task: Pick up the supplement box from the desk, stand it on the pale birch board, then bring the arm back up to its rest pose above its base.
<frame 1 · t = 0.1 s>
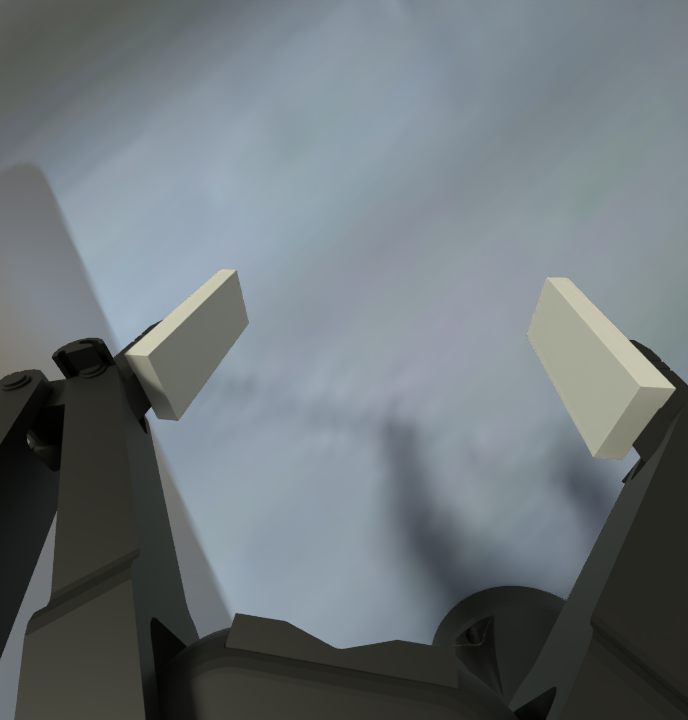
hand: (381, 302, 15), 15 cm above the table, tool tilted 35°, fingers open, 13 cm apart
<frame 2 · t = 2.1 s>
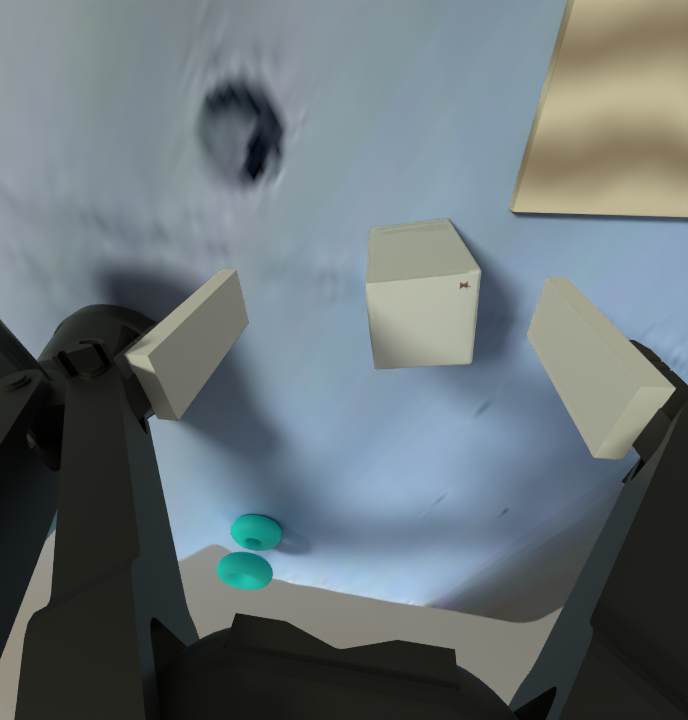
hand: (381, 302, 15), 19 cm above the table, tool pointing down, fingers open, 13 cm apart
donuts: (258, 524, 67), on the table
supplement box: (409, 259, 33), on the table
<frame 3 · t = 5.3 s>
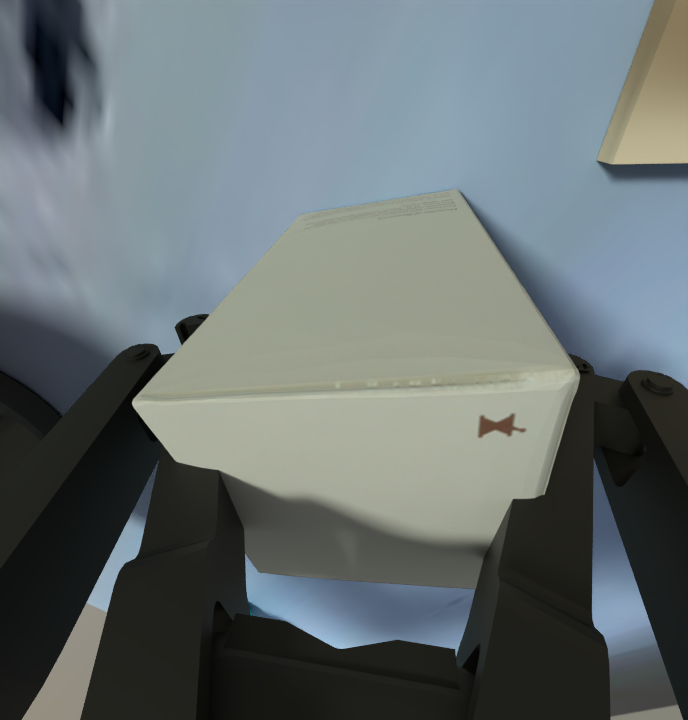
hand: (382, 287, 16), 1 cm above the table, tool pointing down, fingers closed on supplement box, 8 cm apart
supplement box: (383, 275, 17), on the table, touching gripper
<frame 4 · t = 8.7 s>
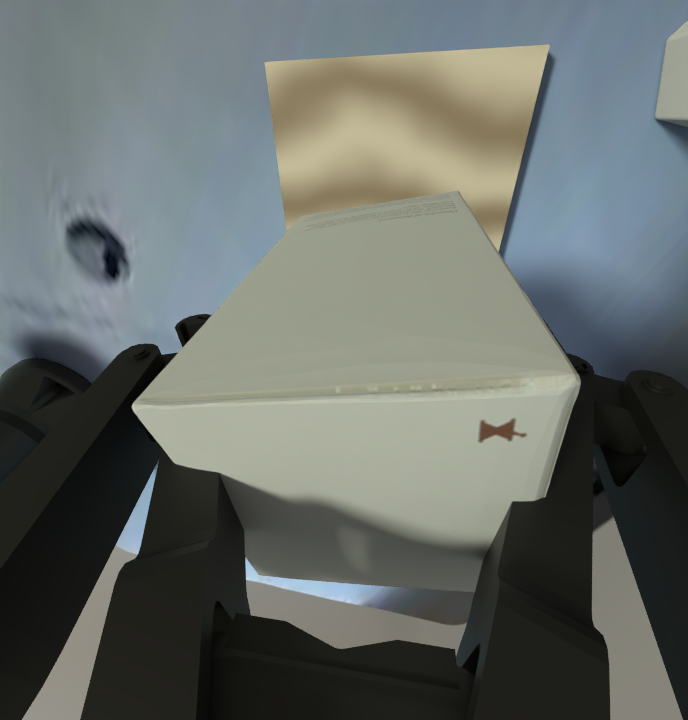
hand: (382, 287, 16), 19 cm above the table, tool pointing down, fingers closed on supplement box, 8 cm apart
birch board: (392, 202, 31), on the table
supplement box: (383, 277, 17), point 17 cm above the table, touching gripper
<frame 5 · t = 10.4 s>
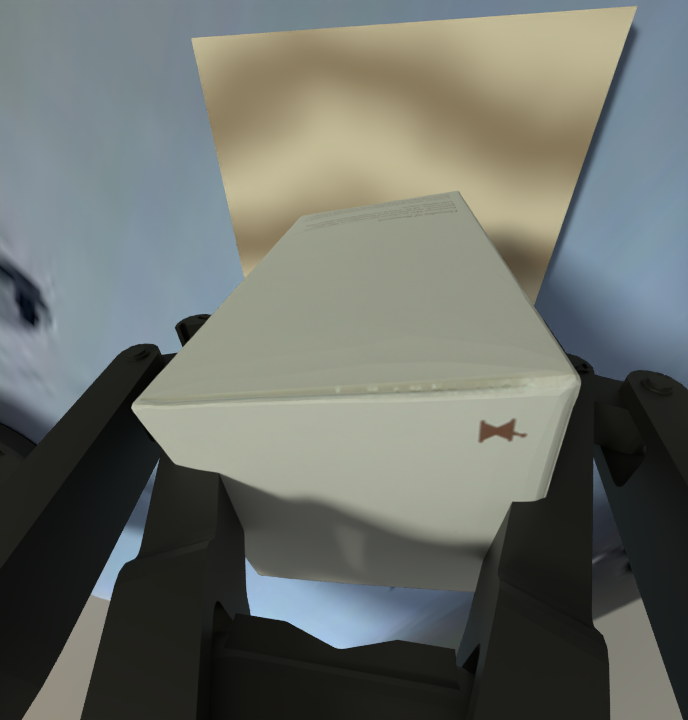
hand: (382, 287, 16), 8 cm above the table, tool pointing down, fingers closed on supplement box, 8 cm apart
birch board: (386, 238, 22), on the table
supplement box: (383, 277, 17), point 6 cm above the table, touching gripper
when the fingers open (4 cm above the table, at t = 12.1 s): supplement box drops 1 cm, resting on birch board.
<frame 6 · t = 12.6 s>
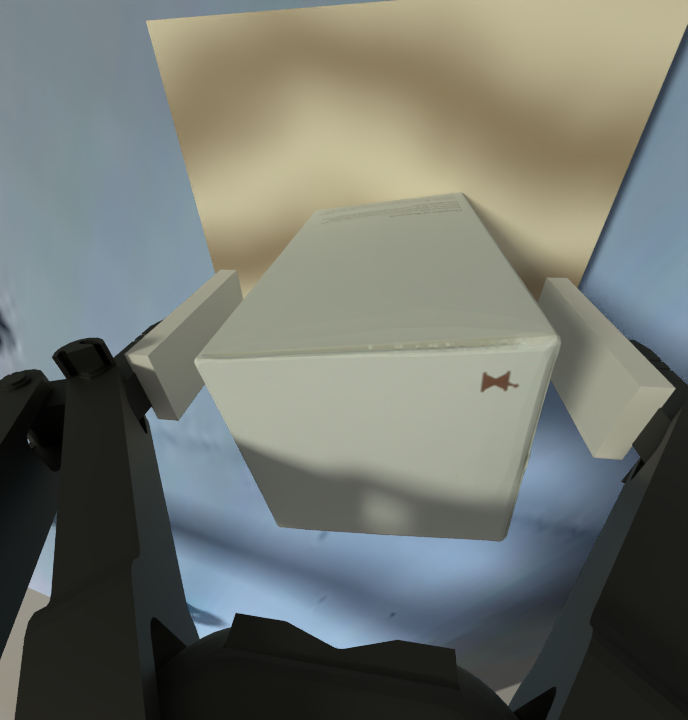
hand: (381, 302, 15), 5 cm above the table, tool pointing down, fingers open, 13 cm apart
birch board: (385, 258, 19), on the table
supplement box: (389, 270, 18), point 1 cm above the table, touching birch board
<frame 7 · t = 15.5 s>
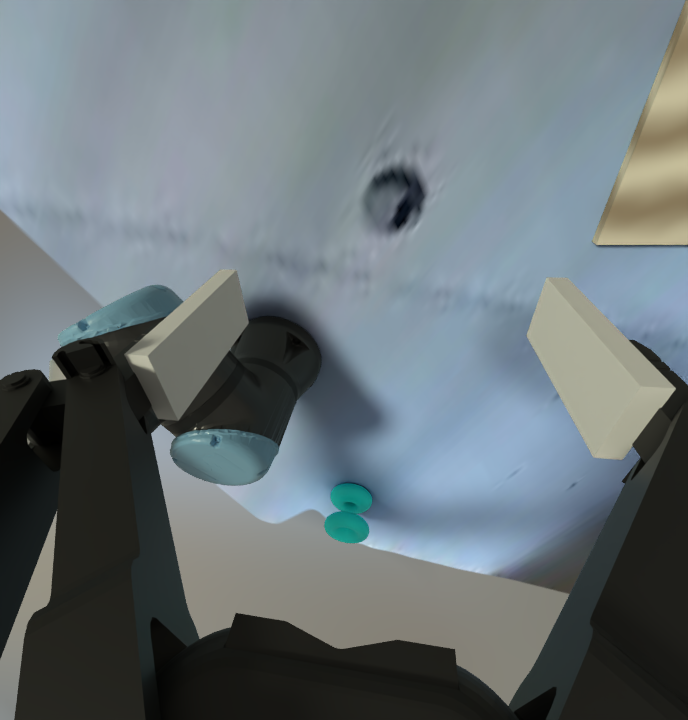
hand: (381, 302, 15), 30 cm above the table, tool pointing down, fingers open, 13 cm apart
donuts: (352, 491, 80), on the table
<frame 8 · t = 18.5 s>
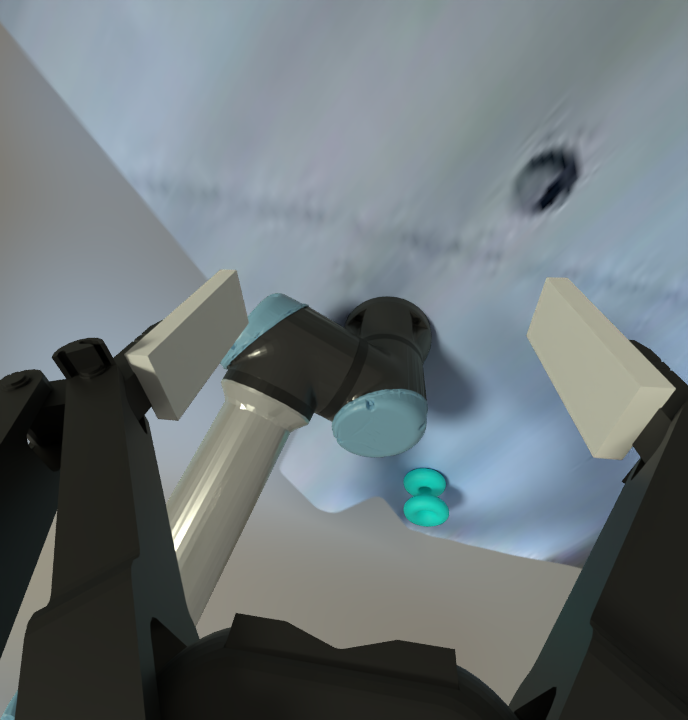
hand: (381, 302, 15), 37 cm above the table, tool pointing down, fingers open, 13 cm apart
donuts: (424, 477, 82), on the table
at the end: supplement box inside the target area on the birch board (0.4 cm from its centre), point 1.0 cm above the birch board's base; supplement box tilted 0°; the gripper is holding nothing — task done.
